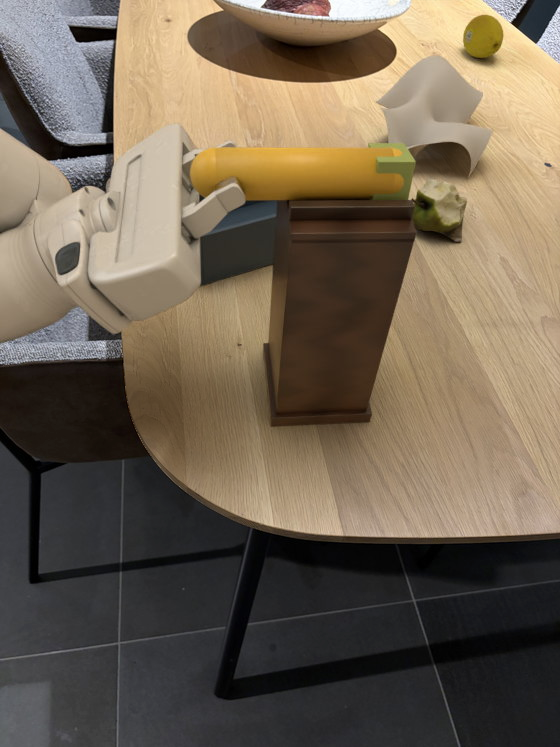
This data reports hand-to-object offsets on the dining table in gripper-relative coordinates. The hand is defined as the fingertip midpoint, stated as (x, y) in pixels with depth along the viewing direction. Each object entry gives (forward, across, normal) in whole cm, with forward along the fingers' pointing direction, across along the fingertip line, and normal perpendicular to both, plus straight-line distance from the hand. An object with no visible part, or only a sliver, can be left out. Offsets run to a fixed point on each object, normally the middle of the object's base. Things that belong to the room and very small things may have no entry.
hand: (239, 169), depth 47 cm
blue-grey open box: (-11, -28, -26) cm, 39 cm away
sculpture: (+18, -55, -42) cm, 72 cm away
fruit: (+13, -30, -39) cm, 51 cm away
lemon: (+36, -91, -53) cm, 111 cm away
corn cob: (+3, 0, -5) cm, 6 cm away
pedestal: (-6, 0, -28) cm, 29 cm away
